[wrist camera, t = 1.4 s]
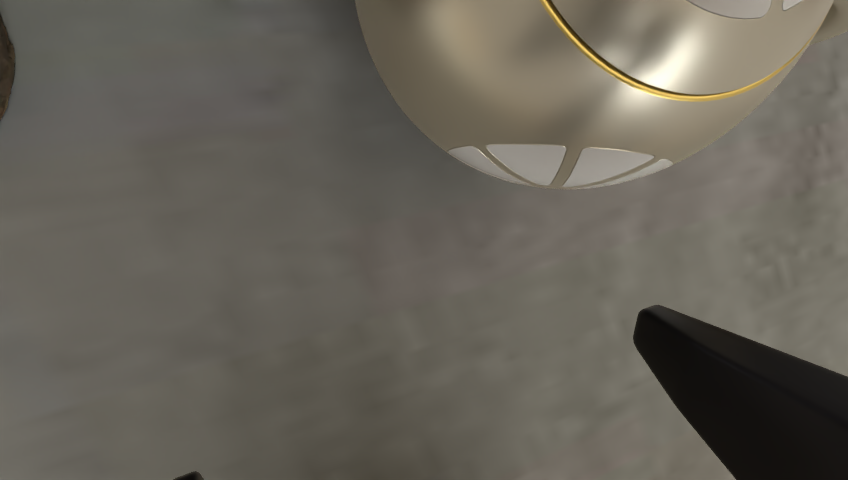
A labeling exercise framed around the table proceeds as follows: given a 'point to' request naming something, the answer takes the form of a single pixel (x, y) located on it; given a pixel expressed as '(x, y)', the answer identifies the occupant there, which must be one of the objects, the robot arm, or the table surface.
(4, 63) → the pillar candle
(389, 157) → the table surface
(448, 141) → the teapot
